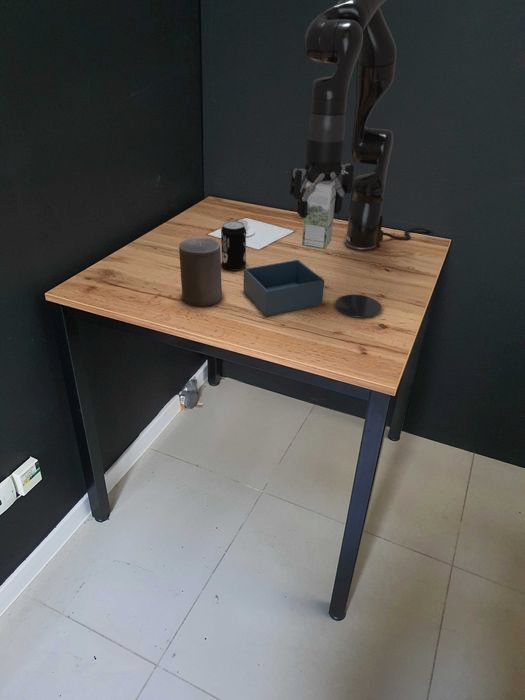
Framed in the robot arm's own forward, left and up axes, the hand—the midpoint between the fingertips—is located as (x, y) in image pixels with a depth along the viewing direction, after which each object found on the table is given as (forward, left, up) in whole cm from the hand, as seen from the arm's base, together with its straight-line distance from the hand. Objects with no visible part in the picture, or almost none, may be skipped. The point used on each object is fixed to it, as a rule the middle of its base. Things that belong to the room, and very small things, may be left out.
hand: (319, 214), depth 111 cm
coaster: (-9, +7, -22) cm, 24 cm away
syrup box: (0, 0, -7) cm, 7 cm away
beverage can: (+10, -26, -22) cm, 36 cm away
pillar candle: (+24, -12, -22) cm, 35 cm away
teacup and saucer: (-5, -48, -22) cm, 53 cm away
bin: (+6, -4, -22) cm, 23 cm away
